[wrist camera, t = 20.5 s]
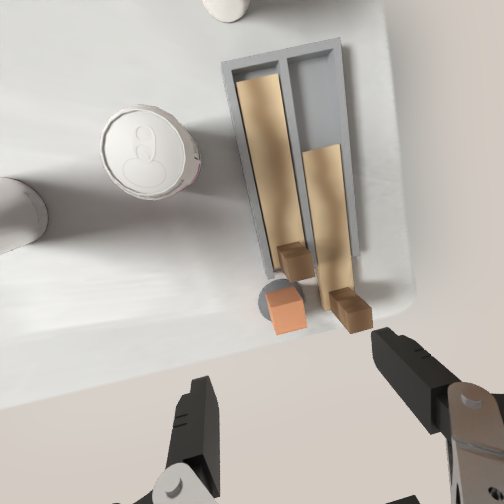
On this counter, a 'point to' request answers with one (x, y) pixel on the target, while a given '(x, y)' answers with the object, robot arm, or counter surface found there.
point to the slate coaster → (272, 287)
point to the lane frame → (299, 124)
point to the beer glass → (226, 9)
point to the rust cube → (286, 310)
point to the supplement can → (149, 152)
